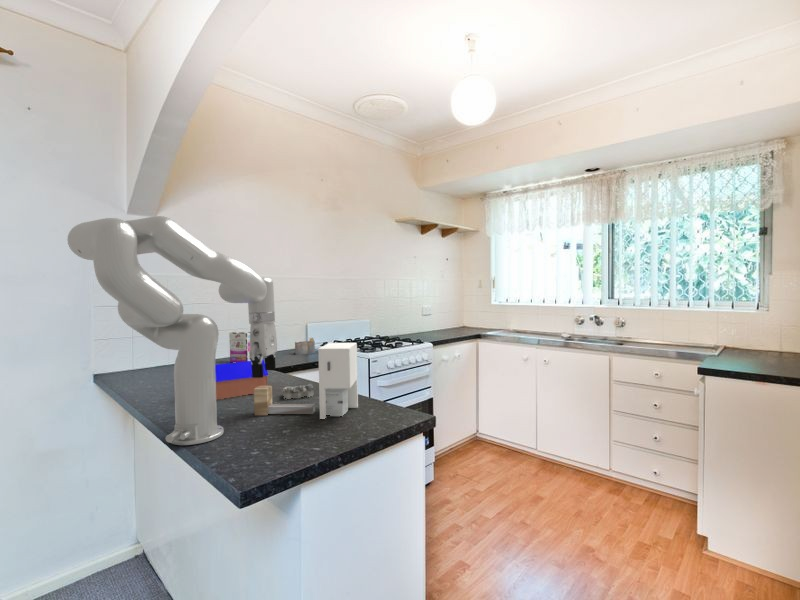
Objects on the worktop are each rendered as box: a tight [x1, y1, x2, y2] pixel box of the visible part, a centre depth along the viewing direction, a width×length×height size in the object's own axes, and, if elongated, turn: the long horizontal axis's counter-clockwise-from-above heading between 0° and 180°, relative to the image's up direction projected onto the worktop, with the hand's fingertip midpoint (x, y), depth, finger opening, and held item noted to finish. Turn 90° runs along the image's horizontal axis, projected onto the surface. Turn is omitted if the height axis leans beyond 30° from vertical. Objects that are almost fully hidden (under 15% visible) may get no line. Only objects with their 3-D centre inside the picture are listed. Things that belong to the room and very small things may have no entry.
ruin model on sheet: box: [294, 337, 316, 356], centre depth 243 cm, size 11×3×10 cm, turn 118°
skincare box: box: [326, 388, 349, 417], centre depth 121 cm, size 6×6×7 cm
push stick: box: [253, 385, 316, 416], centre depth 122 cm, size 4×18×8 cm, turn 87°
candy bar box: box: [229, 331, 251, 363], centre depth 215 cm, size 11×5×16 cm, turn 73°
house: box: [215, 359, 269, 401], centre depth 148 cm, size 12×20×12 cm, turn 125°
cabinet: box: [318, 342, 359, 420], centre depth 121 cm, size 14×9×20 cm, turn 177°
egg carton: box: [282, 383, 315, 400], centre depth 142 cm, size 11×8×4 cm
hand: (264, 373), depth 123 cm, fingers open, 9 cm apart
